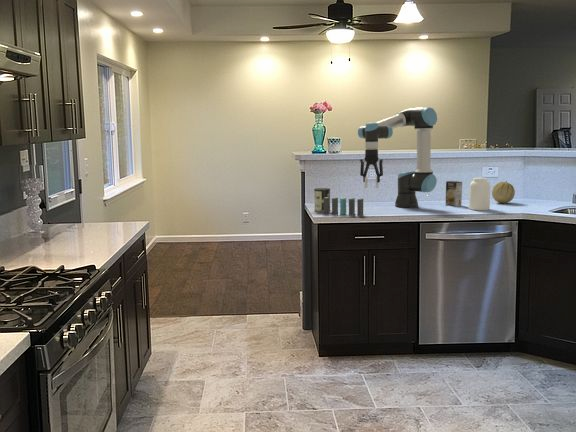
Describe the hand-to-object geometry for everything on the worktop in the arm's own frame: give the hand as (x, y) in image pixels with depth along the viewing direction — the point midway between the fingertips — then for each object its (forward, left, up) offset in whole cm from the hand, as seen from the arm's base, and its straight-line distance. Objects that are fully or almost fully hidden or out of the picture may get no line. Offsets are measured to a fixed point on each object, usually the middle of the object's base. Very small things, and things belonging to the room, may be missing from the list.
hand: (371, 187), depth 366 cm
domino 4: (+7, 0, -17) cm, 18 cm away
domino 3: (+13, 0, -17) cm, 21 cm away
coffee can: (+37, -12, -17) cm, 42 cm away
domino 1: (+29, 0, -17) cm, 34 cm away
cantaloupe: (-65, -87, -17) cm, 110 cm away
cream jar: (-55, -50, -17) cm, 76 cm away
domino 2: (+24, 0, -17) cm, 29 cm away
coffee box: (-36, -65, -17) cm, 76 cm away
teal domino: (+18, 0, -17) cm, 25 cm away
